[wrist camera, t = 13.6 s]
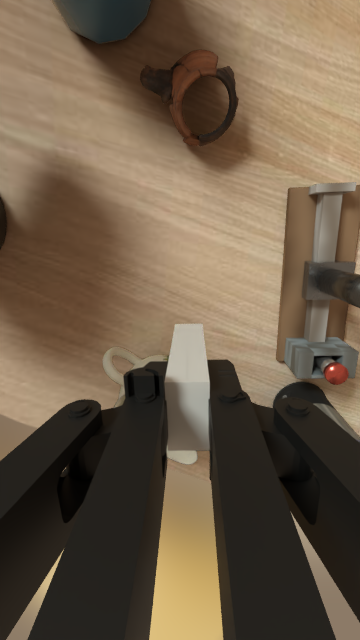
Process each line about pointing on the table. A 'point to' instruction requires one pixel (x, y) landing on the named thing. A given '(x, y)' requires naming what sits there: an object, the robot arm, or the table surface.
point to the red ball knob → (331, 369)
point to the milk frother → (315, 402)
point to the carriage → (331, 281)
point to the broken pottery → (179, 82)
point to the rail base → (299, 246)
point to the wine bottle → (103, 17)
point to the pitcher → (116, 376)
